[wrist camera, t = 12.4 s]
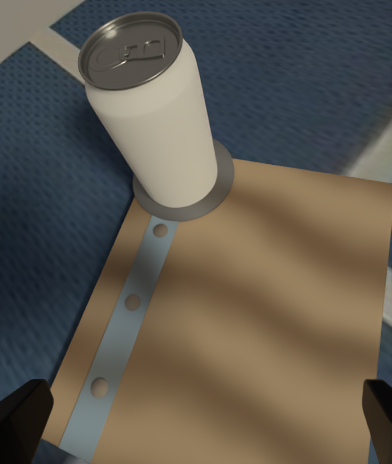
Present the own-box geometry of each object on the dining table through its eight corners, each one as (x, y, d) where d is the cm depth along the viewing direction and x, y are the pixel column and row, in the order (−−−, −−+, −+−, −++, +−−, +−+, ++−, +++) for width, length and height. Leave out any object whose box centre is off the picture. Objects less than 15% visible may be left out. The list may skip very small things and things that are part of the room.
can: (146, 151, 28) (77, 19, 17) (216, 141, 27) (189, -6, 16) (143, 214, 26) (61, 105, 15) (220, 205, 25) (192, 82, 14)
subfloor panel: (347, 580, 16) (355, 598, 15) (31, 424, 22) (17, 427, 21) (391, 171, 25) (398, 161, 24) (157, 137, 31) (153, 127, 29)
